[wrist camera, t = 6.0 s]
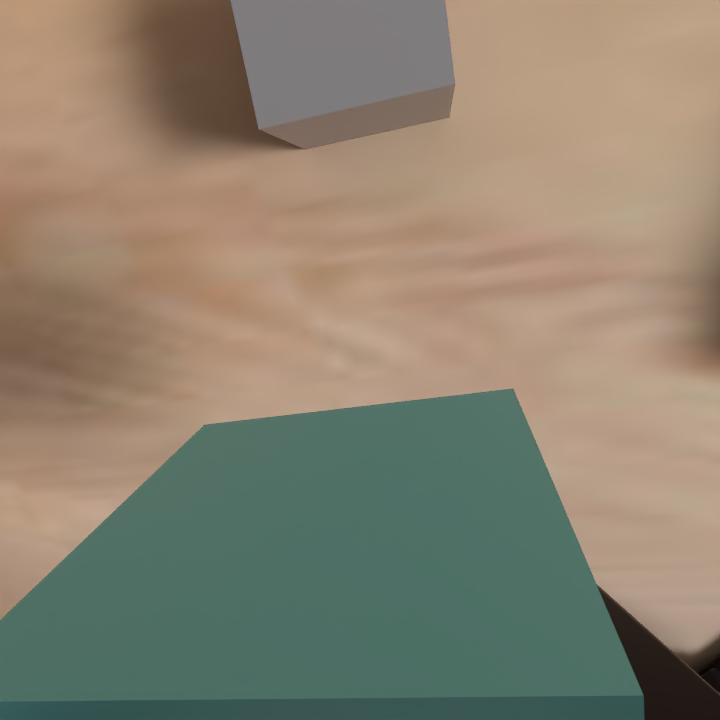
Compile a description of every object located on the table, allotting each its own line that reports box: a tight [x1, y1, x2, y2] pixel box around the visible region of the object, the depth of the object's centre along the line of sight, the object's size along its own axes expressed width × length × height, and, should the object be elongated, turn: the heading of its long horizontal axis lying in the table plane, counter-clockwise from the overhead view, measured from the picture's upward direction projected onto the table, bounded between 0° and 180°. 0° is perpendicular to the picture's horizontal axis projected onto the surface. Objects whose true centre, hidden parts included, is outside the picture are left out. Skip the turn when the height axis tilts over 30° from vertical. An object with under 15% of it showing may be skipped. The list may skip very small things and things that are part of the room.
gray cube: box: [230, 0, 455, 149], centre depth 14 cm, size 5×5×5 cm
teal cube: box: [0, 389, 645, 720], centre depth 6 cm, size 5×5×5 cm
